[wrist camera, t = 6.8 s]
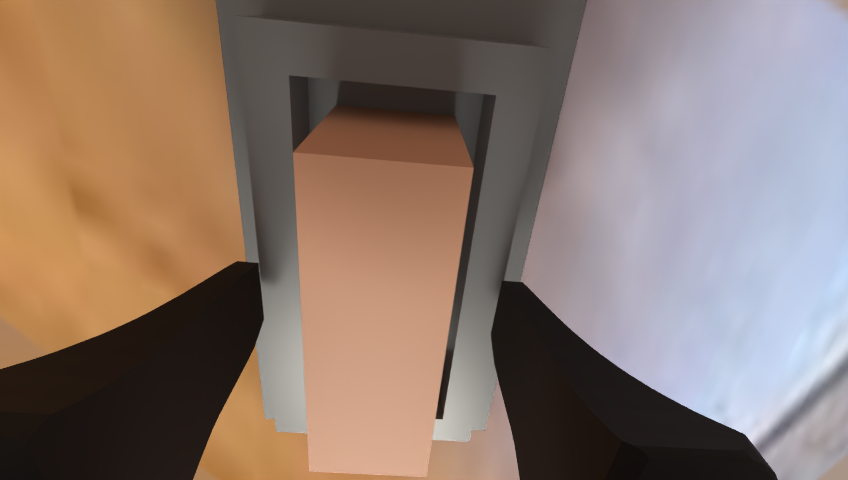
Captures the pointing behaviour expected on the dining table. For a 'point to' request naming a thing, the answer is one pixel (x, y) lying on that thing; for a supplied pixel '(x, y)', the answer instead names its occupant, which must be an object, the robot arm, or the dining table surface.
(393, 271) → the terracotta bar
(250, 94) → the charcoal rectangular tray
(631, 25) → the dining table surface
